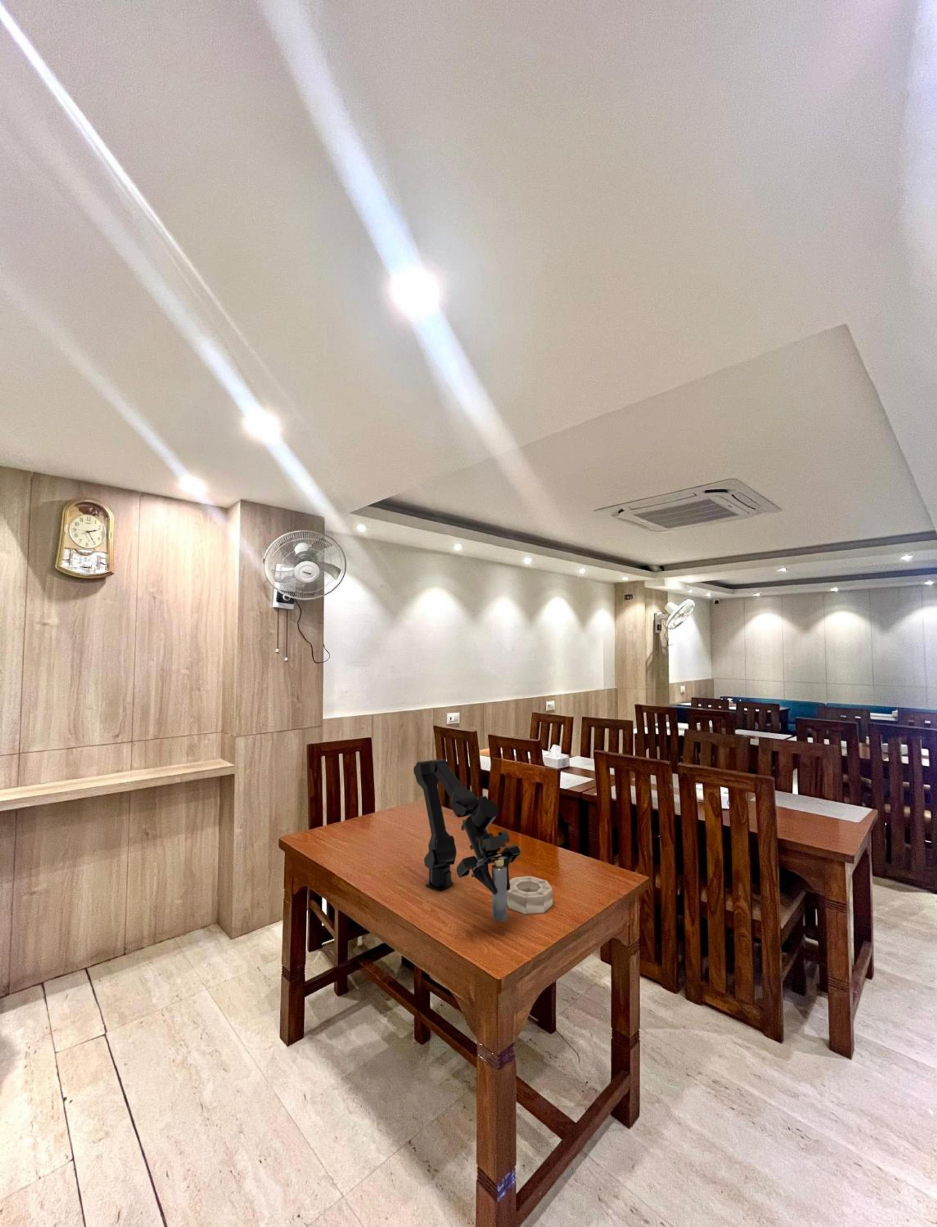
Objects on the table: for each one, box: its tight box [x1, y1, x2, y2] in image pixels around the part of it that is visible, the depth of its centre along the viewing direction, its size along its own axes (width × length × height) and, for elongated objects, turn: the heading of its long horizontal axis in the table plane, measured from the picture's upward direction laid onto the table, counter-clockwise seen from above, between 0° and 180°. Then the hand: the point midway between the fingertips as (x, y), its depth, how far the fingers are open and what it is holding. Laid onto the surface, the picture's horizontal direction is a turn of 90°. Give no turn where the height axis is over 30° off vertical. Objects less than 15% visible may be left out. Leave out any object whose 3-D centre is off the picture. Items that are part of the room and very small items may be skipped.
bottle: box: [491, 858, 508, 922], centre depth 134 cm, size 4×4×15 cm
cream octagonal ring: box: [507, 875, 553, 915], centre depth 149 cm, size 13×13×4 cm
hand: (502, 891), depth 133 cm, fingers closed on bottle, 4 cm apart
